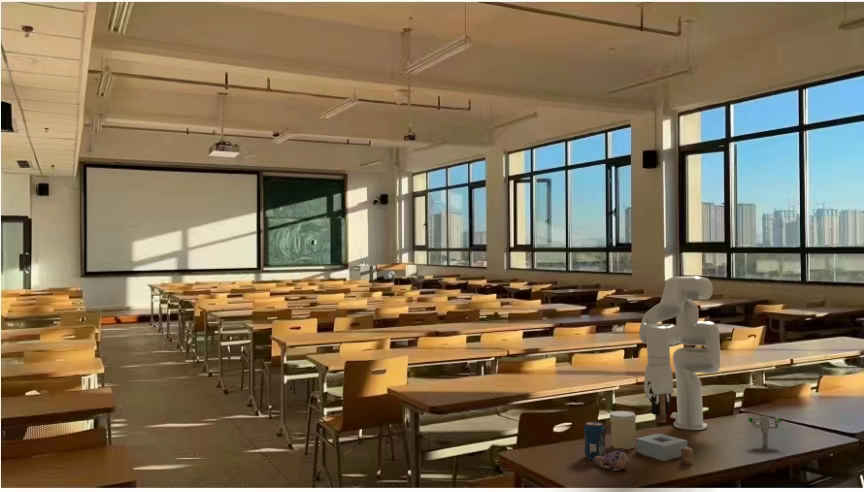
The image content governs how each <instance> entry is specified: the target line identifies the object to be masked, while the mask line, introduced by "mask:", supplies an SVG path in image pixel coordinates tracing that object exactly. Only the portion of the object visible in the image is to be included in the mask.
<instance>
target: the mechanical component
mask: <svg viewBox="0 0 864 492" xmlns="http://www.w3.org/2000/svg"><path fill="white" fill-rule="evenodd" d="M757 421H758V422H757ZM748 422H749V423H750V424H751V426H752V427H753V428H755V429H760V433H762V445H763V446H765V447H767V446H768V444H769V442H768V441H769V440H768V434H770V433H769V432H770V431H769V429H774V430H775V429H778V428H779V426H780V424H779V423H781V418H780V417H777V416H776V417H774V419H773V420H771V419H770V417H769V416H765V415H762V416H761V415H759V416H758V415H755V416H754V415H750V417H748ZM770 424H771V425H770ZM773 424H774V425H773Z"/></svg>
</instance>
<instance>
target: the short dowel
mask: <svg viewBox="0 0 864 492" xmlns="http://www.w3.org/2000/svg"><path fill="white" fill-rule="evenodd" d="M680 458H681V459H680V461H681V465H683V464H684V465H683V466H692V464H694V463H693V462H694V461H693V448H692V447H689V446H688V447H682V448H681V457H680Z"/></svg>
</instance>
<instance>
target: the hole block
mask: <svg viewBox="0 0 864 492" xmlns="http://www.w3.org/2000/svg"><path fill="white" fill-rule="evenodd" d="M635 443H636V444H635V446H636V453H637V452H639V453H641V454H640V455H643V454H644V455H643V456H646V455H647V456H646V457H649V456H650V458H652V457H653V458H652V459H655V458H656V459H655V460H659V461H663V462H666V460H667V461H671V460H674V459H673V458H675V459H677V457H678V458H681V448H682V447H689V446H688V440H686V439H683V438H680V437H675V436H672V435H668V434H665V433H660V432H658V433H654V434H650V435H645V436H641V437H637V438H636V437H635ZM639 453H638V454H639ZM670 459H671V460H670Z"/></svg>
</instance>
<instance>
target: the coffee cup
mask: <svg viewBox="0 0 864 492" xmlns="http://www.w3.org/2000/svg"><path fill="white" fill-rule="evenodd" d="M636 418H637V415H636V414H635V412H634V411H633V412H632V411H628V410H616V411H611V412H610V413H609V421H610V423H609V424H610V433H611V434H610V435H611V441H612V447H613V446H614V447H617V448H624V449H626V448H633V447H634V448H635V446H636V444H635V443H636V423H637V422H636ZM614 447H613V448H614ZM617 448H616V449H617ZM634 448H633V449H634ZM624 449H623V450H624Z"/></svg>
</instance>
